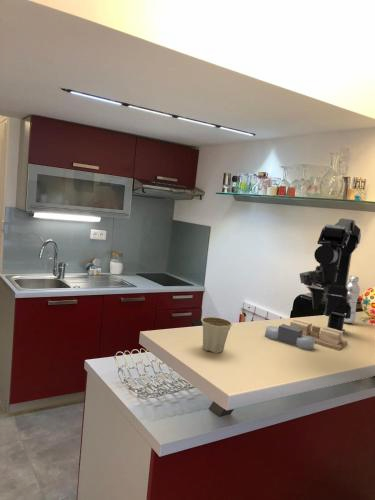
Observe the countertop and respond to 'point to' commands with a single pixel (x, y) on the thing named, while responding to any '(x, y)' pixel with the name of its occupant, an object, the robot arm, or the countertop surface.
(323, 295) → the robot arm
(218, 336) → the flower pot
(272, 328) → the grey dumbbell shape
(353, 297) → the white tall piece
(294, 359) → the countertop surface
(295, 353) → the countertop surface
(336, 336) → the display stand
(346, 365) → the countertop surface
